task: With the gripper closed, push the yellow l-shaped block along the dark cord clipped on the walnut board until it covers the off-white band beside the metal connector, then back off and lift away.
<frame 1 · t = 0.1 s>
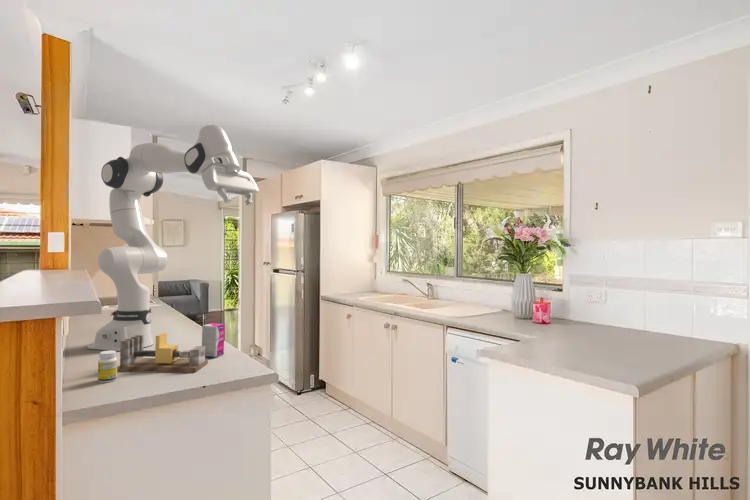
hand: (239, 203, 139), 54 cm above the countertop, tool tilted 30°, fingers open, 8 cm apart
supplement box: (212, 356, 153), on the countertop
yellow l-shaped block: (166, 347, 138), point 6 cm above the countertop, slide at 0.0 cm
cord board: (165, 367, 138), on the countertop
supplement bottle: (107, 381, 124), on the countertop
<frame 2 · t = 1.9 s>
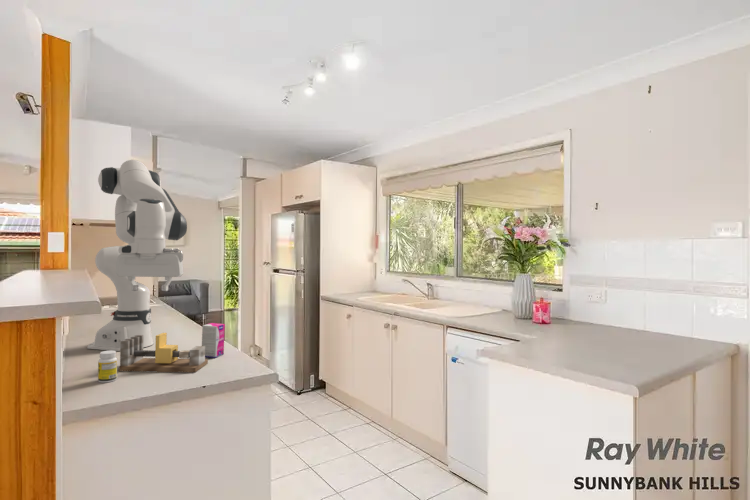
hand: (149, 290, 137), 25 cm above the countertop, tool pointing down, fingers open, 8 cm apart
nothing on the countertop moved.
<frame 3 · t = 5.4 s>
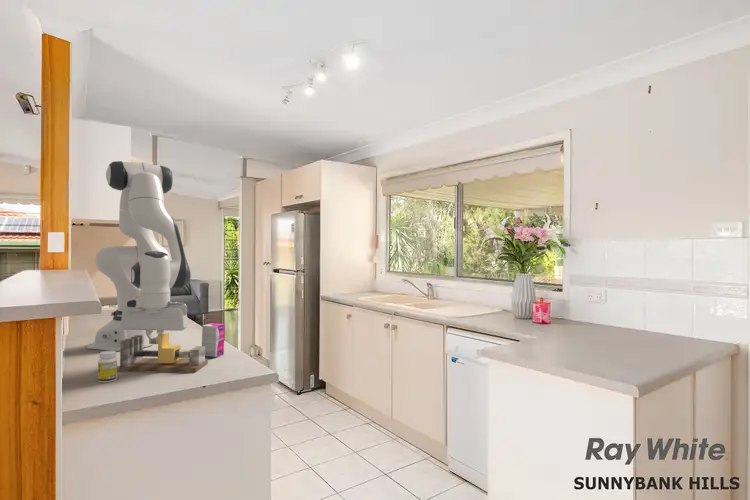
hand: (154, 343, 138), 8 cm above the countertop, tool pointing down, fingers closed
yellow l-shaped block: (169, 347, 138), point 6 cm above the countertop, slide at 0.8 cm, touching gripper
everything else where it was.
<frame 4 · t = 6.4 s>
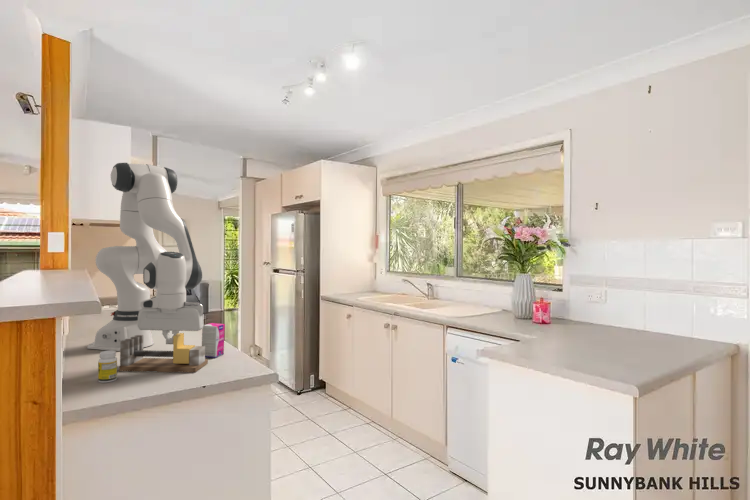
hand: (170, 343, 138), 8 cm above the countertop, tool pointing down, fingers closed
yellow l-shaped block: (184, 348, 138), point 6 cm above the countertop, slide at 5.7 cm, touching gripper
everything else where it was.
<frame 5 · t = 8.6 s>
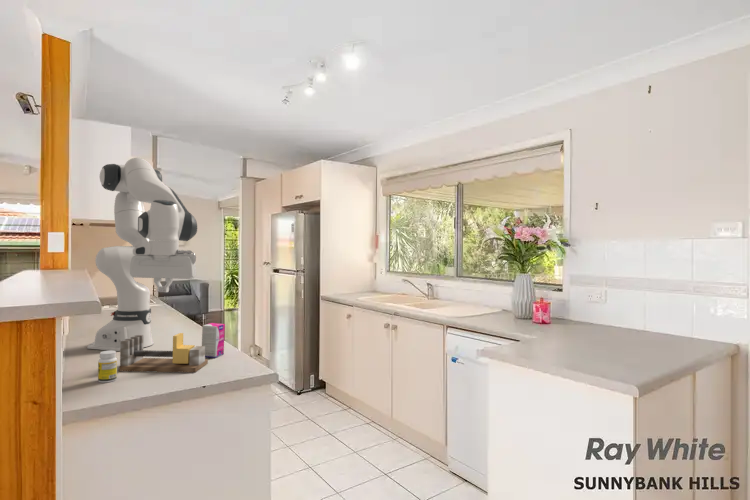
hand: (163, 292, 138), 25 cm above the countertop, tool pointing down, fingers closed
yellow l-shaped block: (183, 348, 138), point 6 cm above the countertop, slide at 5.5 cm
everything else where it was.
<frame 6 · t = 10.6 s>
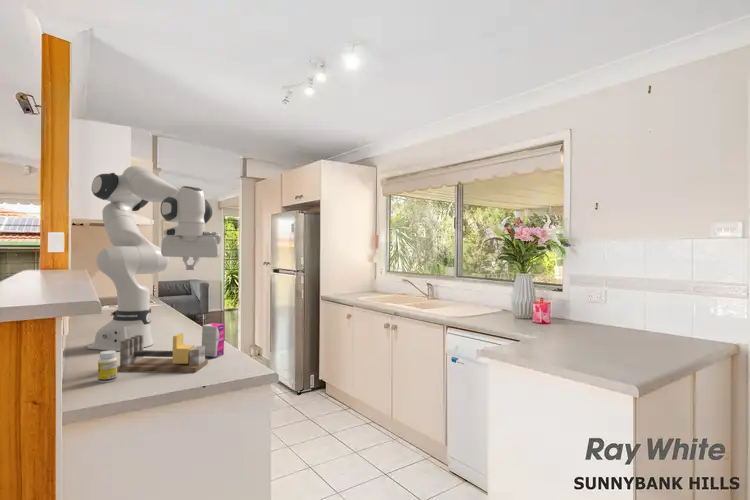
hand: (190, 269, 152), 31 cm above the countertop, tool pointing down, fingers closed
nothing on the countertop moved.
at the end: yellow l-shaped block slide at 5.5 cm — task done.
